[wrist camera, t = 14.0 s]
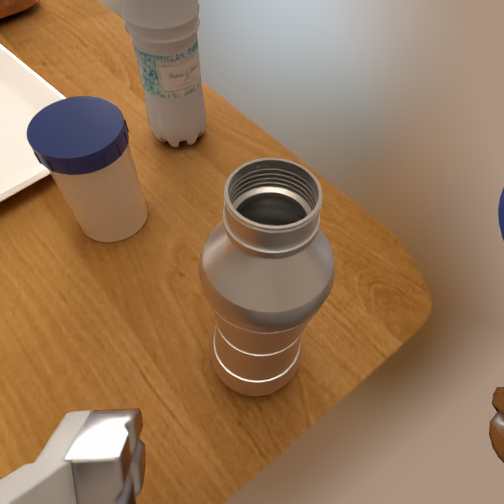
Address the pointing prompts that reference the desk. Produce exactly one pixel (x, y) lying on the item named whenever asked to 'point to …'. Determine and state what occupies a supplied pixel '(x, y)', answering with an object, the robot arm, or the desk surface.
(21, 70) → the plate
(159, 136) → the bottle
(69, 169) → the lid
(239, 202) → the silver ringed container
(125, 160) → the jar
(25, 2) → the bread
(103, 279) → the desk surface
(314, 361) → the desk surface
